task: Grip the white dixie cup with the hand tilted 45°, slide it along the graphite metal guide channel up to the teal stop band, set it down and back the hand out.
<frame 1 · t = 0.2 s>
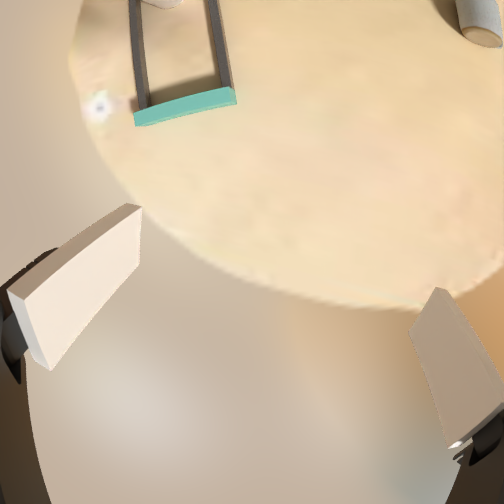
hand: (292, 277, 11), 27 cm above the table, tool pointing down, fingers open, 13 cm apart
guide rails: (177, 32, 29), on the table
ceramic mug: (473, 26, 20), on the table
teal band: (188, 107, 34), on the table
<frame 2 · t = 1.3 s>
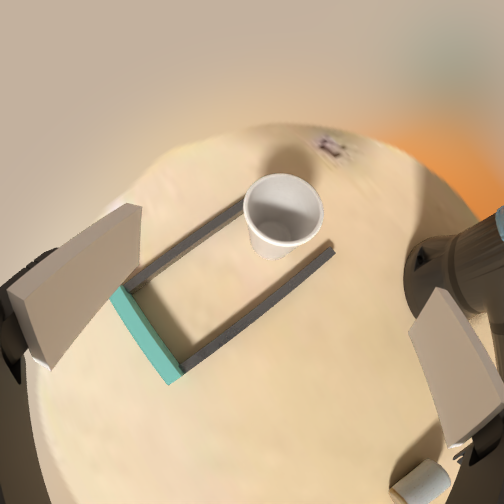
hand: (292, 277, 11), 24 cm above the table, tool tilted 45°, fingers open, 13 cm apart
guide rails: (225, 276, 36), on the table
ceramic mug: (409, 483, 27), on the table
dixie cup: (271, 240, 38), on the table
teal band: (148, 334, 33), on the table
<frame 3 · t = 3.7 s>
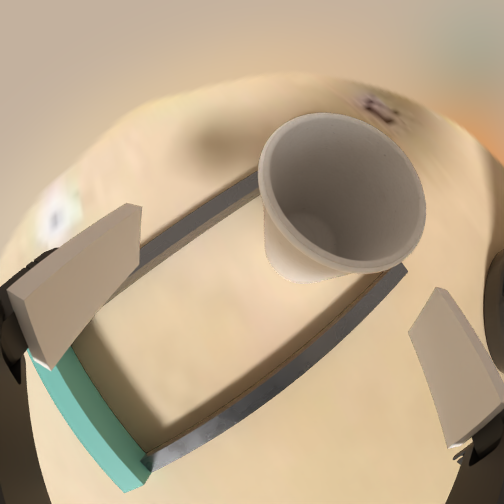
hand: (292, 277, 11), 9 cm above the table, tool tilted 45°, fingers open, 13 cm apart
guide rails: (219, 313, 19), on the table
dixie cup: (301, 247, 21), on the table
teal band: (93, 401, 16), on the table
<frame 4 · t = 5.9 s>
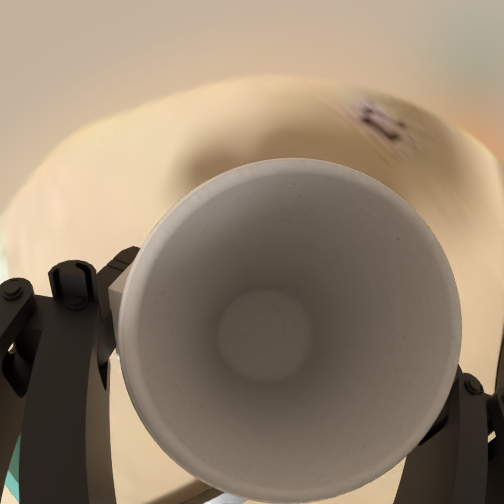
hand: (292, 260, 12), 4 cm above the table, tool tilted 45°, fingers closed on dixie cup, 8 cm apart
guide rails: (156, 418, 13), on the table
dixie cup: (264, 336, 15), on the table, touching gripper
teal band: (44, 480, 10), on the table
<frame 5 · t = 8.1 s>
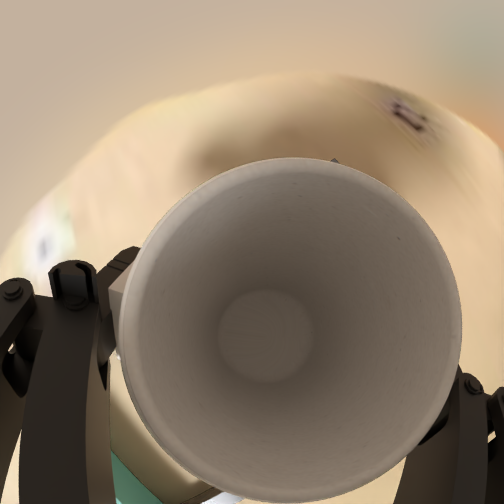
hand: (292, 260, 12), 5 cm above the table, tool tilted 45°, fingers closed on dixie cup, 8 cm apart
guide rails: (249, 363, 16), on the table
dixie cup: (264, 335, 15), point 1 cm above the table, touching gripper
teal band: (105, 458, 13), on the table
when the fingers open (4 cm above the table, at t = 10.5 s): dixie cup stays where it is, on the table.
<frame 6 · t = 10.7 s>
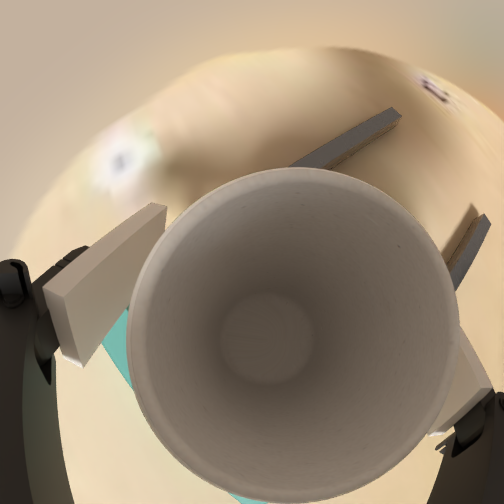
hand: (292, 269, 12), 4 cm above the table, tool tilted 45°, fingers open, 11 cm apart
guide rails: (350, 260, 17), on the table
dixie cup: (266, 338, 15), on the table
teal band: (185, 393, 14), on the table
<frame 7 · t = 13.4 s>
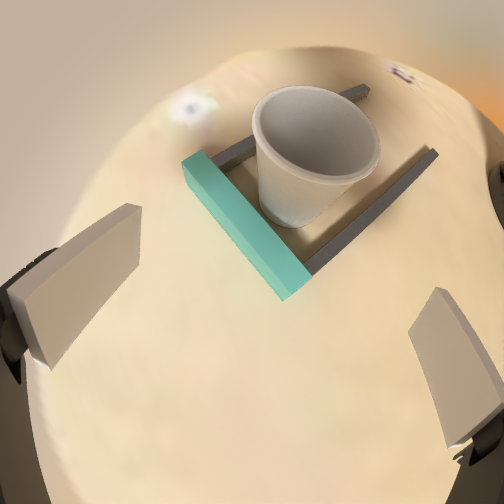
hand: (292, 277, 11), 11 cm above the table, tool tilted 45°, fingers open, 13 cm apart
guide rails: (337, 163, 27), on the table
dixie cup: (289, 200, 25), on the table
teal band: (240, 231, 24), on the table
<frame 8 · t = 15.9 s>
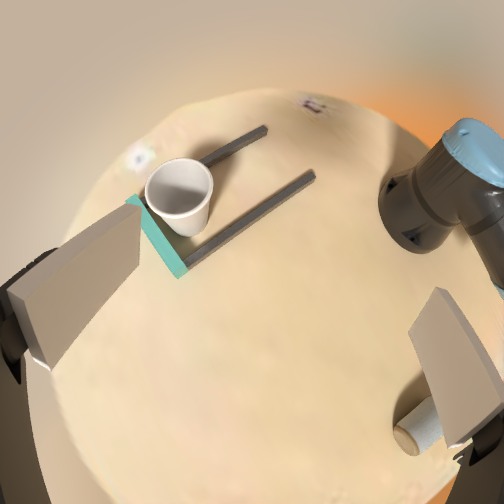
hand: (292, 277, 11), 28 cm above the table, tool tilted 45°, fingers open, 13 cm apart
guide rails: (225, 192, 43), on the table
ceramic mug: (413, 426, 34), on the table
dixie cup: (189, 219, 41), on the table
teal band: (157, 239, 40), on the table
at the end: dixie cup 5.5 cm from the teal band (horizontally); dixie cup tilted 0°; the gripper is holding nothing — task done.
